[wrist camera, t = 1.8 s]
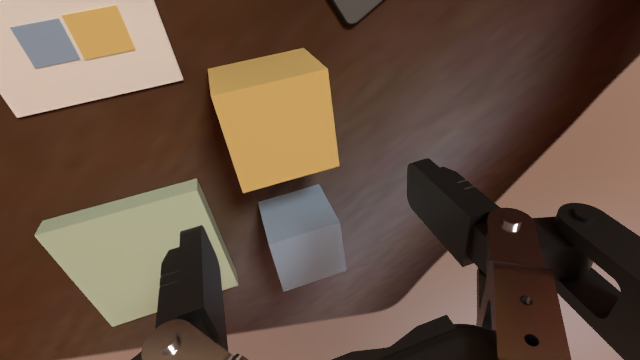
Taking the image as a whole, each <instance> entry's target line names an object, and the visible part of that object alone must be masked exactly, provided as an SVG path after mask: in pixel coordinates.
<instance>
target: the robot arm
mask: <svg viewBox="0 0 640 360" xmlns="http://www.w3.org/2000/svg"><path fill="white" fill-rule="evenodd" d="M407 198H408V202H409V204H410V206H411V208H412V210H413V211H414V212H415V213H416V214H417V215H418V216H419V218H420V219H421V220H422V221H423V222H424V223H425V224H426V226H427V227H428V228H429V229H430V230H431V231H432V232H433V234H434V235H435V236H436V237H437V238H438V239H439V241H440V242H441V243H442V244H443V245H444V246H445V247H446V249H447V250H448V251H449V252H450V253H451V254H452V255H453V256H454V258H455V259H456V260H457V261H458V262H459V263H460V265H461V266H462V267H464V266H467V265H470V264H472V263H475V264H476V265H477V267H478V270H477V323H476V326H475V325H468V324H453V323H452V322H451V320H450V319H449V317H448V316H447V315H445V316H442V317H440V318H437V319H435V320H432V321H429V322H427V323H424V324H422V325H419V326H417V327H416V328H414V329H413V330H412V331H410V332H409V333H408V334H406V335H405V336H404V337H403V338H401V339H400V340H399V341H397V342H396V343H395V344H393V345H392V346H390V347H388V348H381V349H372V350H363V351H354V352H351V353H348V354H345V355H343V356H340V357H337V358H335V359H332V360H571V356H570V351H569V346H568V342H567V337H566V332H565V327H564V323H563V318H562V313H561V309H560V304H559V299H558V295H557V293H558V294H559V295H560V296H561V297H562V298H563V299H564V300H565V301H566V302H567V303H568V304H569V305H570V306H571V307H572V308H573V309H574V310H575V311H576V312H577V313H578V314H579V315H580V316H581V317H582V318H583V319H584V320H585V321H586V322H587V323H588V324H589V325H590V326H591V327H592V328H593V329H594V330H595V331H596V332H597V333H598V334H599V335H600V336H601V337H602V338H603V339H604V340H605V341H606V342H607V343H608V344H609V345H610V346H611V347H612V348H613V349H614V350H615V351H616V352H617V353H618V354H619V355H620V356H621V357H622V358H623V359H624V360H640V236H638V235H637V234H635V233H634V232H632V231H631V230H629V229H628V228H626V227H625V226H623V225H622V224H620V223H619V222H618V221H616V220H615V219H613V218H612V217H610V216H609V215H607V214H606V213H604V212H603V211H601V210H599V209H597V208H595V207H593V206H590V205H586V204H580V203H569V204H565V205H563V206H561V207H560V208H559V210H558V213H557V215H556V217H545V218H531V217H530V216H529V215H528V214H526V213H524V212H522V211H519V210H517V209H512V208H500V207H499V206H497V205H496V204H495V203H494V202H492V201H491V200H490V199H489V198H488V197H486V196H485V195H484V194H483V193H481V192H480V191H479V190H478V189H477V188H475V187H473V185H472V184H470V183H469V182H468V181H466V180H465V179H464V178H463V177H462V176H461V175H459V174H458V173H457V172H455V171H453V170H450V169H448V168H445V167H441V168H439V167H438V166H437V165H436V164H435V163H434V162H432V161H431V160H430V159H423V160H420V161H417V162H413V163H410V164H409V165H408V169H407ZM593 262H594V263H596V264H597V265H598V266H599V267H601V268H602V269H603V270H604V271H605V272H607V273H608V274H609V275H610V276H611V277H613V278H614V279H615V280H616V282H617V283H618V285H619V287H620V289H621V292H620V291H618V290H617V289H616V288H615V287H614V286H613V285H612V284H610V283H609V282H608V281H607V280H605V279H604V278H603V277H602V276H601V275H600V274H598V273H597V272H596V271H595V270H594V269H593V268H591V266H592V264H593ZM159 286H160V288H159V296H158V307H157V318H156V327H155V329H154V330H153V331H152V332H151V333H150V335H149V336H148V337H147V339H146V340H145V342H144V345H143V347H142V351H141V352H140V353H139V354H138V355H137V356H135V357H134V358H133V359H131V360H248V359H246V358H245V357H243V356H242V355H240V354H236V355H235V356H233V355H232V354H230V353H228V346H227V335H226V325H225V314H224V304H223V293H222V283H221V273H220V266H219V262H218V259H217V256H216V253H215V251H214V249H213V247H212V244H211V242H210V240H209V238H208V235H207V233H206V231H205V229H204V227H203V226H202V225H200V226H197V227H194V228H190V229H187V230H184V231H181V232H180V246H179V247H177V248H174V249H171V250H169V251H168V252H167V254H166V256H165V258H164V260H163V261H162V264H161V278H160V285H159Z"/></svg>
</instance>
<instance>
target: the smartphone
mask: <svg viewBox="0 0 640 360" xmlns="http://www.w3.org/2000/svg"><path fill="white" fill-rule="evenodd" d="M329 1H330V3H331V4H332V6H333V7H334V9H335V11H336V12H337V14H338V16H339V17H340V19H341V21H342V22H343V23H344V24H346V25H349V26H351V25H354V24H356V23H357V22H359V21H360V20H361V19H362V18H363V17H364V16H366V15H367V14H368V13H369V12H370V11H371V10H373V9H374V8H375V7H376V6H377V5H378V4H379V3H381V2H382V1H383V0H329Z"/></svg>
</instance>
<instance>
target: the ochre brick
mask: <svg viewBox="0 0 640 360" xmlns="http://www.w3.org/2000/svg"><path fill="white" fill-rule="evenodd" d="M208 76H209V85H210V94H211V98H212V101H213V104H214V107H215V110H216V113H217V116H218V119H219V122H220V126H221V129H222V132H223V135H224V138H225V141H226V144H227V147H228V150H229V153H230V156H231V159H232V162H233V165H234V168H235V171H236V174H237V177H238V180H239V183H240V186H241V189H242V192H243V193H246V192H250V191H253V190H257V189H260V188H264V187H267V186H271V185H274V184H278V183H281V182H285V181H288V180H292V179H295V178H299V177H303V176H306V175H310V174H313V173H317V172H320V171H324V170H327V169H331V168H334V167H338V166H339V159H338V150H337V142H336V133H335V125H334V117H333V108H332V100H331V91H330V83H329V74H328V69H327V68H326V67H325V66H324V65H323V64H322V63H320V62H319V61H318V60H317V59H316V58H315V57H314V56H312V55H311V54H310V53H309V52H308V51H307V50H305V49H304V48H301V49H297V50H292V51H288V52H283V53H279V54H274V55H269V56H265V57H260V58H256V59H251V60H246V61H242V62H237V63H233V64H228V65H224V66H219V67H214V68H210V69H208Z"/></svg>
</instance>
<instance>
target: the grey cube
mask: <svg viewBox="0 0 640 360" xmlns="http://www.w3.org/2000/svg"><path fill="white" fill-rule="evenodd" d="M258 205H259V209H260V213H261V217H262V221H263V224H264V228H265V232H266V236H267V240H268V244H269V248H270V251H271V254H272V257H273V260H274V263H275V266H276V269H277V273H278V276H279V279H280V282H281V285H282V288H283V291H284V292H285V291H288V290H291V289H294V288H297V287H300V286H303V285H306V284H309V283H311V282H314V281H317V280H320V279H323V278H326V277H329V276H332V275H335V274H338V273H341V272H344V271H347V269H346V263H345V256H344V249H343V242H342V235H341V228H340V222H339V220H338V218H337V216H336V215H335V213H334V211H333V209H332V207H331V205H330V203H329V202H328V200H327V198H326V196H325V194H324V192H323V190H322V189H321V187H320V185H319V184H318V185H314V186H311V187H308V188H304V189H301V190H297V191H294V192H291V193H287V194H284V195H280V196H277V197H274V198H270V199H267V200H264V201H260V202H258Z"/></svg>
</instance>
